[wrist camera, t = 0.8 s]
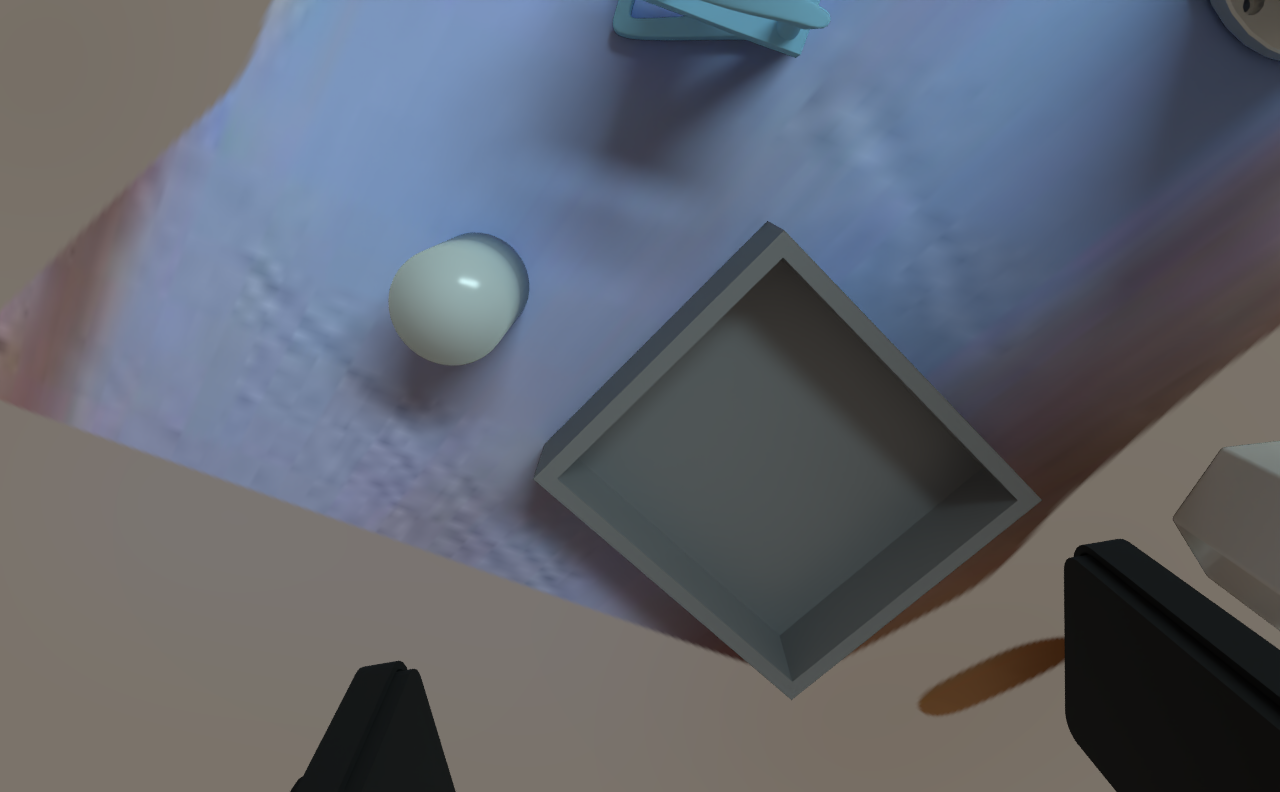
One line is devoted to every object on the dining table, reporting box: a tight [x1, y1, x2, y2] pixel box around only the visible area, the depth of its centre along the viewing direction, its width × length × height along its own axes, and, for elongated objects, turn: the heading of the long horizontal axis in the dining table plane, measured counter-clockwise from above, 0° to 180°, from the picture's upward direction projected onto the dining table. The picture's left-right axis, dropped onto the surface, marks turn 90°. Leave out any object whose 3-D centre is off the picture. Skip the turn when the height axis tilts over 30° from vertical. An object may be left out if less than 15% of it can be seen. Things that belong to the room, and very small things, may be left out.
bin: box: [533, 221, 1042, 700], centre depth 38 cm, size 16×18×4 cm
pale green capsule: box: [389, 233, 529, 366], centre depth 34 cm, size 5×5×6 cm
